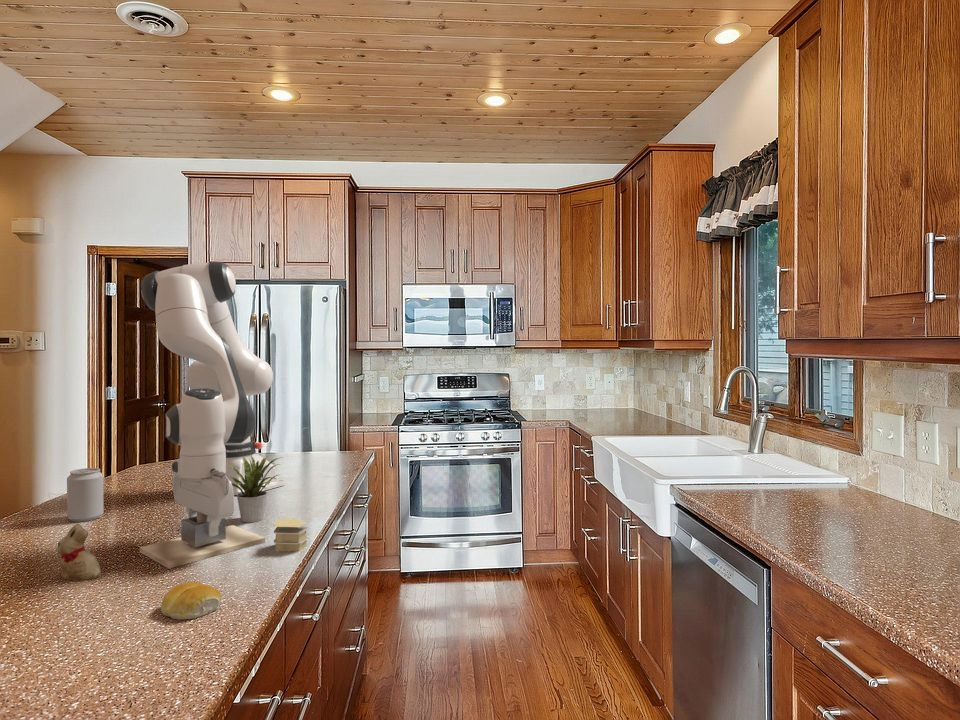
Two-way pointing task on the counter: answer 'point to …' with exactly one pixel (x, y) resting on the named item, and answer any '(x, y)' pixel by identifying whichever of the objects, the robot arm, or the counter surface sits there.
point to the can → (85, 494)
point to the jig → (184, 553)
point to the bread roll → (190, 601)
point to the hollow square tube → (200, 532)
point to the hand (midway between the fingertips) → (203, 531)
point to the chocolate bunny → (77, 556)
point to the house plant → (252, 490)
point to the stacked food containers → (290, 535)
